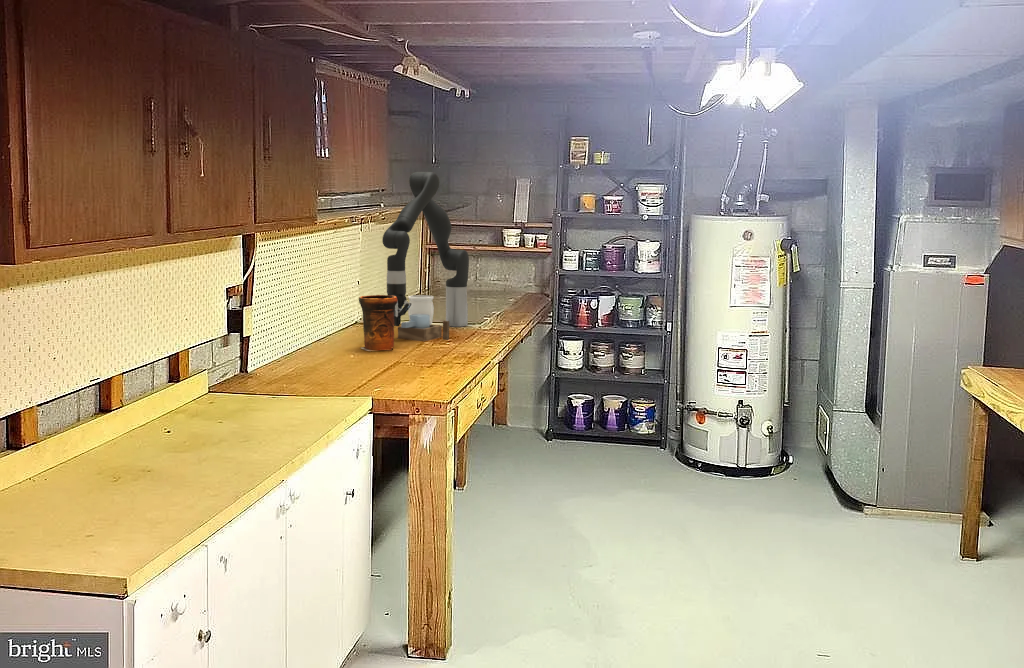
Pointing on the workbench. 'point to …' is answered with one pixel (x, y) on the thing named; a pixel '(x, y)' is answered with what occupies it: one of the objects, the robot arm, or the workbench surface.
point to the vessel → (378, 321)
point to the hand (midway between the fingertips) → (396, 325)
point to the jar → (421, 305)
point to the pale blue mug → (417, 321)
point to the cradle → (424, 332)
